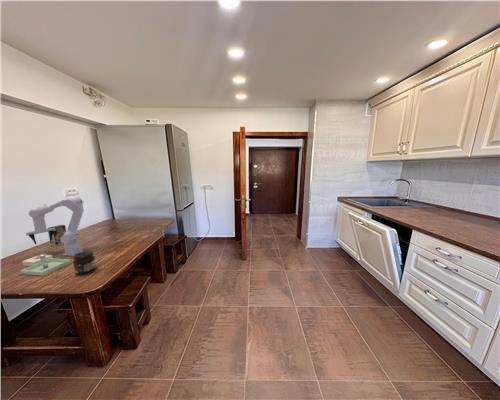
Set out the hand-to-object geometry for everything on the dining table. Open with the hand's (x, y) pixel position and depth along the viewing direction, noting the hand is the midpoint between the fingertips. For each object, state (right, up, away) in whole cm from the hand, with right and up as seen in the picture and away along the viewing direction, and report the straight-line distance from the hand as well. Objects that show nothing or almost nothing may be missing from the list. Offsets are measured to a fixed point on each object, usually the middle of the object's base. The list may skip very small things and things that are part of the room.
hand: (43, 242), depth 139 cm
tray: (+22, -13, -17) cm, 31 cm away
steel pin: (+20, -13, -17) cm, 29 cm away
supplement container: (+50, -14, -20) cm, 56 cm away
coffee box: (-10, -7, +22) cm, 25 cm away
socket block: (+7, -12, -9) cm, 16 cm away
